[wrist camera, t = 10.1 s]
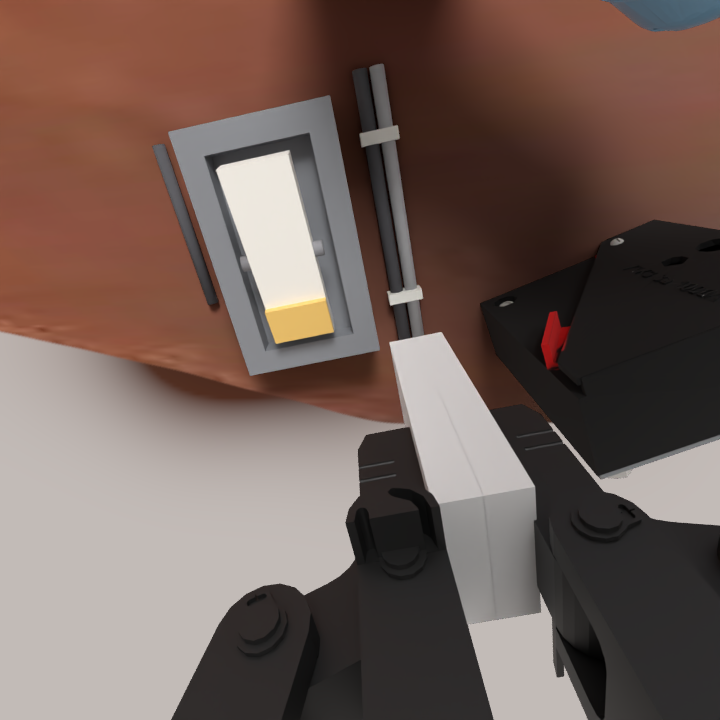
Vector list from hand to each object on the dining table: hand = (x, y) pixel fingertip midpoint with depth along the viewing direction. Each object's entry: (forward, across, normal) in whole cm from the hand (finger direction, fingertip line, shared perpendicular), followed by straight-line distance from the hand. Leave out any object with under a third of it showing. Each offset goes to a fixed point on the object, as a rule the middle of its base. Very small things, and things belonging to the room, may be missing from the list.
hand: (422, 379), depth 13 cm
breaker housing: (+30, -7, +1) cm, 31 cm away
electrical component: (+31, +19, -10) cm, 37 cm away
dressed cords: (+30, +2, +1) cm, 31 cm away
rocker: (+23, -7, +1) cm, 24 cm away
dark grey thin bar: (+30, -16, +4) cm, 35 cm away
